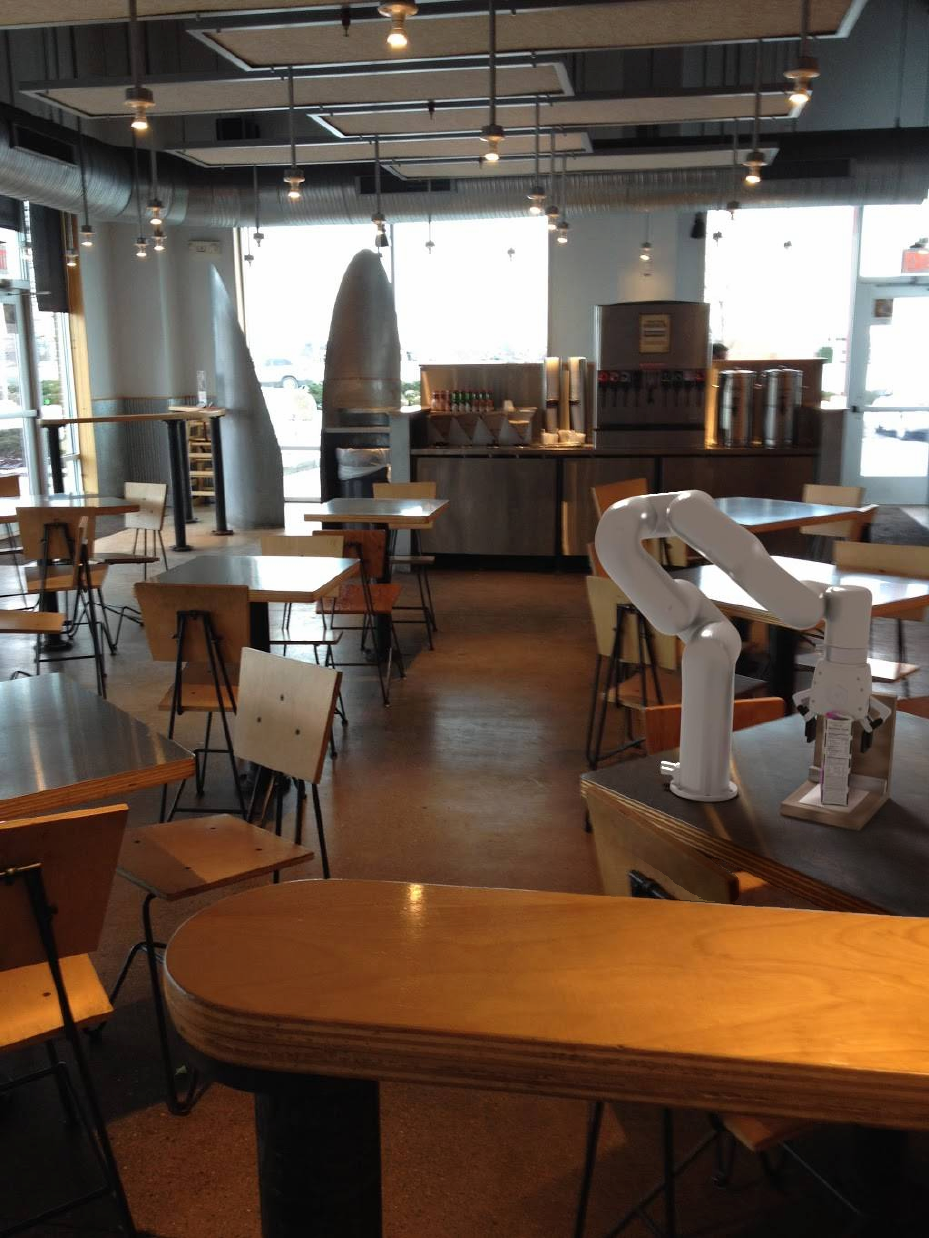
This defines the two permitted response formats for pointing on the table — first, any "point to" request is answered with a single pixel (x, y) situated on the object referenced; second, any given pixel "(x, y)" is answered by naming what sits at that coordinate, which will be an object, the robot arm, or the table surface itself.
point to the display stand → (851, 776)
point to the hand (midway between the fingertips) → (837, 746)
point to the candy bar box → (836, 759)
